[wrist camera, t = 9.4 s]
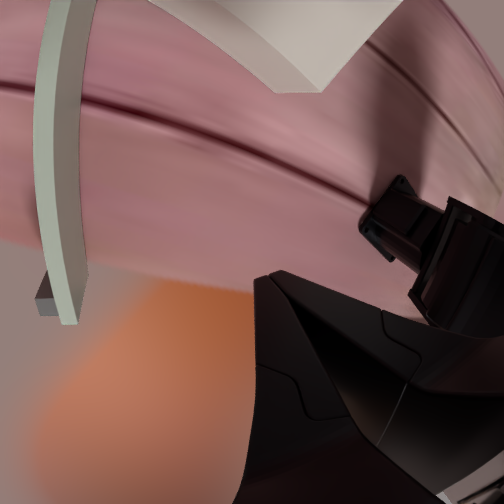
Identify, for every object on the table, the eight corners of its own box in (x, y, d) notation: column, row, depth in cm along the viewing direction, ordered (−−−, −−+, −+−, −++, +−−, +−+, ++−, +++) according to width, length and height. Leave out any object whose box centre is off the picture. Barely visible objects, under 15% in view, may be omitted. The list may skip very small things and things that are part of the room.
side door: (88, 274, 18) (78, 324, 14) (54, 275, 17) (37, 324, 13) (101, -17, 10) (89, -55, 5) (61, -12, 9) (37, -44, 4)
